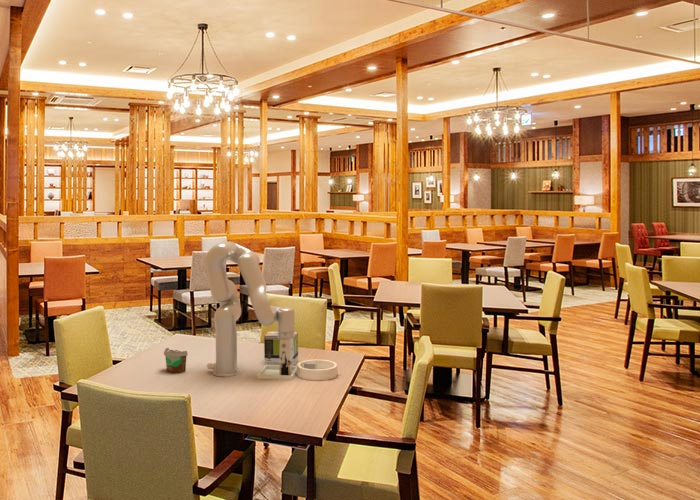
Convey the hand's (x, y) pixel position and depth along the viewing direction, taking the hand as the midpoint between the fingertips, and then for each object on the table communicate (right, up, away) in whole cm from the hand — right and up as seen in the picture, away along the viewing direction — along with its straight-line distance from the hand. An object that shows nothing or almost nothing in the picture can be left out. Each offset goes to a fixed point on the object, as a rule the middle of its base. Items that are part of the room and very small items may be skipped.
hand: (286, 373), depth 278 cm
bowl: (+14, -1, +1) cm, 14 cm away
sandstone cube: (0, 0, 0) cm, 0 cm away
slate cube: (+11, 0, +1) cm, 11 cm away
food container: (-52, 0, +3) cm, 53 cm away
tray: (-3, -1, 0) cm, 4 cm away
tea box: (-4, +1, +21) cm, 21 cm away
